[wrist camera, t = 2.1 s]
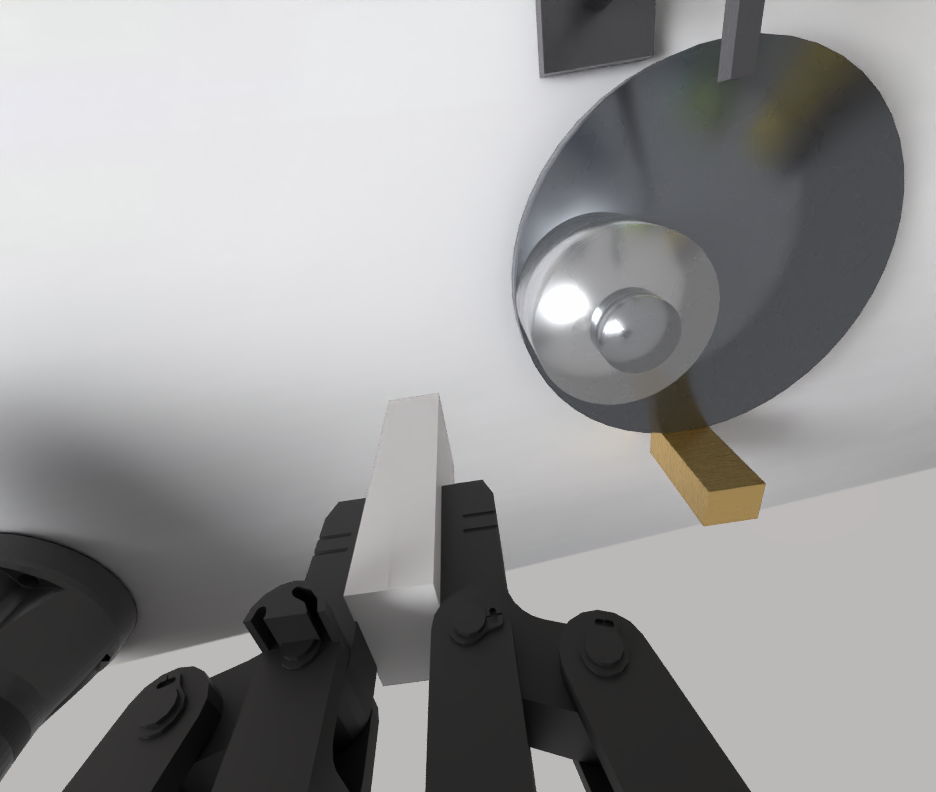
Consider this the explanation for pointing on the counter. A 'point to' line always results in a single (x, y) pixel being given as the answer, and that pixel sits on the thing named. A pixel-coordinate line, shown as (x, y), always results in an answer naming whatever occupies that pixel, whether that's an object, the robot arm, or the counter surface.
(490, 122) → the counter surface
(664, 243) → the cover
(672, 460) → the turntable
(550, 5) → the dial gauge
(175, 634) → the counter surface
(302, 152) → the counter surface
